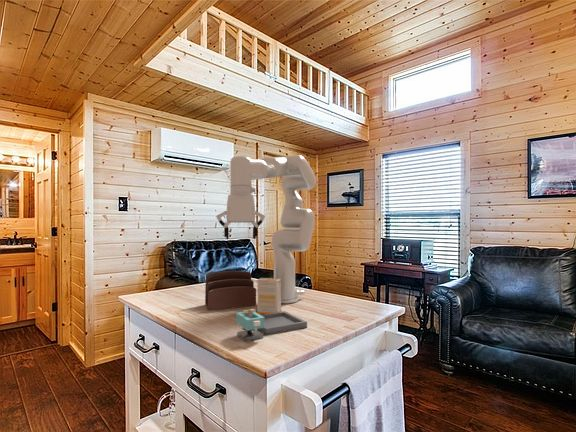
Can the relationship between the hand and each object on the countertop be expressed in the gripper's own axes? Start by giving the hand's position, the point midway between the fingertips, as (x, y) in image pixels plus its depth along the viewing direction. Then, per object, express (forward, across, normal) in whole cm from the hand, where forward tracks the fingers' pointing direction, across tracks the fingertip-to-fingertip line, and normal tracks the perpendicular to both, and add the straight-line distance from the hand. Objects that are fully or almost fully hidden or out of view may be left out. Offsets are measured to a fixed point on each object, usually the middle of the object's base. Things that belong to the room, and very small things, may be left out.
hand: (240, 238), depth 118 cm
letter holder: (+29, +3, -21) cm, 36 cm away
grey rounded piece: (+29, -1, +19) cm, 34 cm away
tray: (+29, -11, +9) cm, 32 cm away
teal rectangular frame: (+25, -1, +19) cm, 31 cm away
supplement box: (+29, -11, -6) cm, 32 cm away
